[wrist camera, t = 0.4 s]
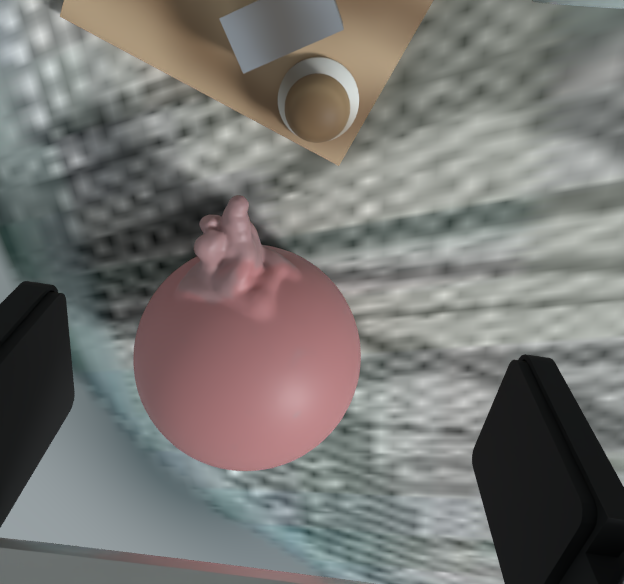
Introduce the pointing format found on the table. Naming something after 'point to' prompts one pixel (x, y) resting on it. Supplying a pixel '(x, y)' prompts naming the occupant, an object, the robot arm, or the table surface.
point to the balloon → (245, 350)
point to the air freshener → (587, 3)
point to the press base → (219, 67)
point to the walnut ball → (317, 108)
